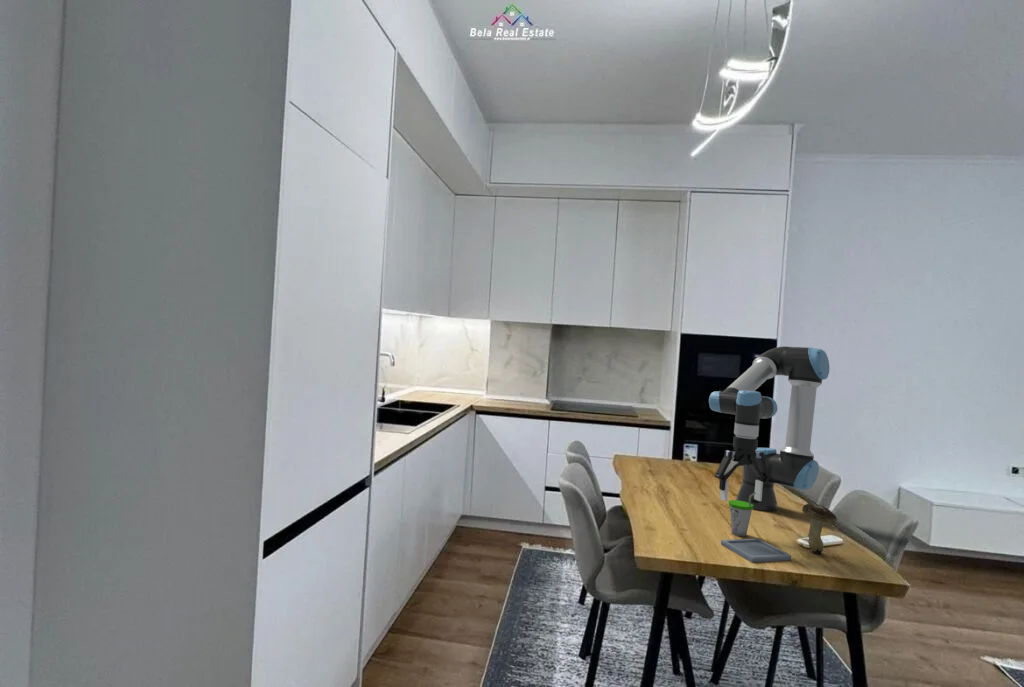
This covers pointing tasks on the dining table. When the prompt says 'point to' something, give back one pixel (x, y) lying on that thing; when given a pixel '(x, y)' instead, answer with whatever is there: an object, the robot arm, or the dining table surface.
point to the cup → (740, 516)
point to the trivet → (755, 550)
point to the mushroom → (817, 524)
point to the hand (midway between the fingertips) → (740, 500)
